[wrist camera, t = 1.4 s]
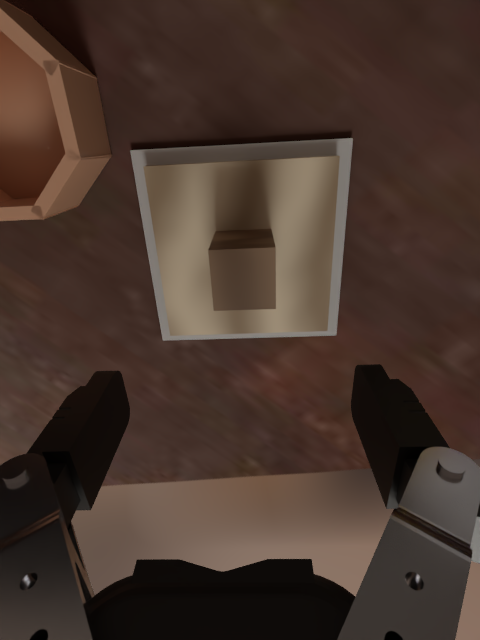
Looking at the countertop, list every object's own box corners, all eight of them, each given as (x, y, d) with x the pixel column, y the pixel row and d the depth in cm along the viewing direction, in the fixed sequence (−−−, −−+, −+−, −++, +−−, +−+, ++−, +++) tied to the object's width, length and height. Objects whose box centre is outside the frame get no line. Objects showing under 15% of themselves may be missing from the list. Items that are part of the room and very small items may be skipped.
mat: (351, 138, 24) (352, 138, 23) (335, 333, 30) (336, 335, 30) (132, 150, 24) (130, 150, 24) (163, 338, 31) (162, 340, 31)
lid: (336, 155, 24) (361, 159, 18) (325, 325, 30) (341, 365, 24) (147, 165, 24) (117, 172, 19) (172, 330, 30) (155, 370, 25)
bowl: (84, 11, 21) (39, -24, 17) (121, 204, 26) (95, 217, 22) (-93, 24, 22) (-183, -6, 17) (-23, 211, 27) (-78, 225, 22)
